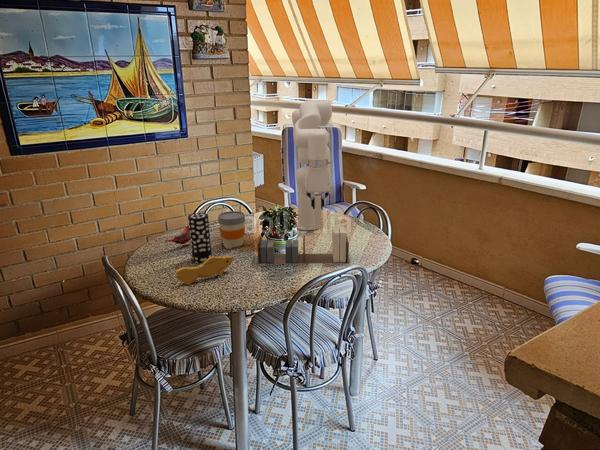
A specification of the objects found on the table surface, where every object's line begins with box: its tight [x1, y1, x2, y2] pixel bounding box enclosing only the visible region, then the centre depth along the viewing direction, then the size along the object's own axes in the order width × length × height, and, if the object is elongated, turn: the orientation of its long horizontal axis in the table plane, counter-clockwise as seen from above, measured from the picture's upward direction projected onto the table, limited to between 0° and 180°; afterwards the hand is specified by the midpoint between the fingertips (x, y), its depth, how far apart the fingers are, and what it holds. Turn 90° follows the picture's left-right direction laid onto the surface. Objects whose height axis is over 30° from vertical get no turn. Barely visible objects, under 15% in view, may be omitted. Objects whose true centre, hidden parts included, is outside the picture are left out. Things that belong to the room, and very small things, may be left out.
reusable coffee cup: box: [217, 210, 246, 250], centre depth 190 cm, size 13×13×15 cm
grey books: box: [260, 239, 299, 263], centre depth 173 cm, size 8×16×7 cm, turn 88°
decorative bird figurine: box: [164, 224, 191, 248], centre depth 190 cm, size 3×18×10 cm, turn 140°
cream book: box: [314, 192, 322, 230], centre depth 166 cm, size 8×2×13 cm, turn 177°
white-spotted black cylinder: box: [187, 212, 213, 264], centre depth 175 cm, size 8×8×20 cm
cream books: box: [331, 225, 347, 262], centre depth 171 cm, size 8×5×13 cm, turn 178°
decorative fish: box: [175, 254, 233, 285], centre depth 159 cm, size 22×3×10 cm, turn 118°
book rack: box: [256, 233, 350, 265], centre depth 173 cm, size 10×38×10 cm, turn 88°
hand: (317, 207), depth 166 cm, fingers closed on cream book, 2 cm apart
